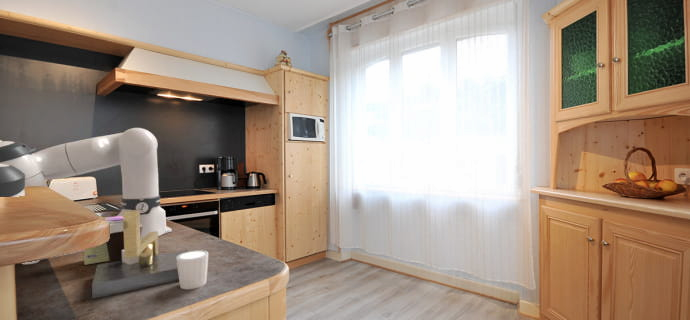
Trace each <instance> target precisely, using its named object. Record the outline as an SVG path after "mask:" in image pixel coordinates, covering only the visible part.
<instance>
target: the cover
mask: <svg viewBox="0 0 690 320" xmlns="http://www.w3.org/2000/svg"><path fill="white" fill-rule="evenodd" d="M122 262H124V263H127V264H130V265H131V264H134V263H138V262H139V256H138V257H130V258H125V255H124V250H122Z"/></svg>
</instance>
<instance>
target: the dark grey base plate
mask: <svg viewBox="0 0 690 320" xmlns="http://www.w3.org/2000/svg"><path fill="white" fill-rule="evenodd" d="M185 252H189V251H188V250H187V249H182V250H177V251H172V252H166V253H158V255H157V256H156V257H153V263H152V264H150V265H146V266H140V265H139V262H138V263H134V264H131V265H130V264H127V263H124V262H122V261H117V262H111V263H110V262H107V263H99V264H97V265H96V269H95V273H94V277H93V279H92V283H91V292H92V294H91V295H92V296H91V297H92V298H91V299H92V300H94V299H98V298H103V297H107V296H108V297H109V296H113V295H117V294H122V293H126V292H130V291H135V290H139V289H144V288H149V287H153V286H159V285H162V284H168V283H172V282H177V281H179V275H178V267H177V259H176V258H177V256H178V255H180V254H182V253H185ZM158 284H159V285H158Z"/></svg>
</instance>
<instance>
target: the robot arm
mask: <svg viewBox="0 0 690 320" xmlns="http://www.w3.org/2000/svg"><path fill="white" fill-rule="evenodd" d="M158 143H159V142H158V139H157V138H156V136H155V135H154V134H153V133H152V132H151V131H149V130H148V129H146V128H142V127H133V128H129V129H126V130H125V131H124V132H120V133H119V132H118V133H114V134H108V135H101V136H95V137H90V138H86V139H81V140H76V141H70V142H66V143H62V144H57V145H54V146H50V147H47V148H44V149H42V150H39V151H37V148H36V147H34V146H29V145H27V144H26V143H23V142H19V141H15V140H14V141H9V140H8V141H7V140H5V141H4V140H2V141H0V197H19V196H25V190H24V188H25V187H28V186H43V185H44V186H45V187H47V188H48V189H49V187H48V184H47V180H57V179H58V180H59V179H65V178H70V177H75V176H79V175H83V174H88V173H92V172H96V171H100V170H105V169H107V168H108V169H109V168H111V167H112V168H113V167H116V166H120V172H121V183H122V198H121V201H120V204H121V211H120V212H119V213H118V214H116V216H123V212H125V211H127V210H140V224H141V225H142V230H141V239H142V238H143V237H144V236H146V235H147V234H148V233H149V232H154V231H158V237H160V236H162V235H164V234H168V233H170V232H173V230H172V228H171V227H169V226H167V221H166V219H167V218H166V210H164V208H162V207H161V202H162V201H161V195H160V194H159V193H160V192H159V191H160V189H159V168H158V167H159V166H158ZM32 152H34V153H32ZM95 214H97V215H99V216H101V217H102V214H101V213H97V212H96V213H95ZM108 222H109V224H110V234H111V233H115V232H122V231H123V229H124V224H123V221H108ZM87 250H88V249H87ZM84 251H85V250H83V251H78V252H73V253H69V254H64V255H59V256H56V257H58V258H59V257H62V256H67V255H73V254H77V253H81V252H84ZM56 257H55V258H56ZM52 258H53V257H51V258H50V259H52ZM40 261H41V260H37V261H32V262H25V263H21V264H22V265H32V264H36V263H39V262H40Z"/></svg>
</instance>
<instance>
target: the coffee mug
mask: <svg viewBox="0 0 690 320" xmlns="http://www.w3.org/2000/svg"><path fill="white" fill-rule="evenodd" d="M141 230H142V225H141V224H140V236H141ZM106 244H107V250H108V255H109V260H110V261H109V263H111V262H117V261H122V250H124V229H123V231H122V232H115V233H111V234H110V239H109V241H108V242H106Z"/></svg>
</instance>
